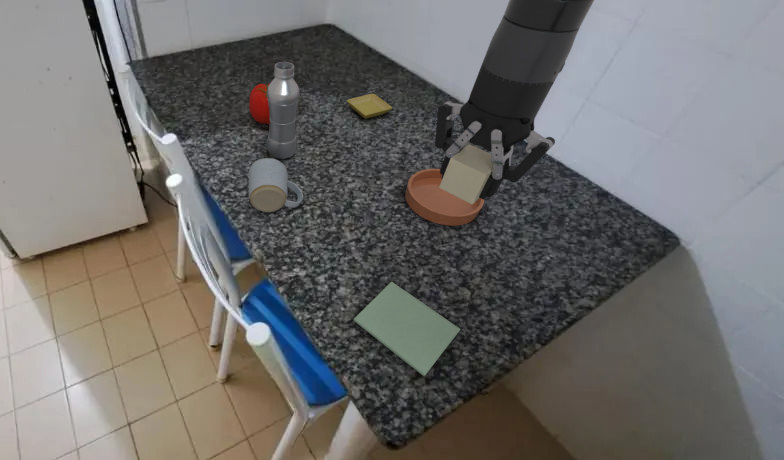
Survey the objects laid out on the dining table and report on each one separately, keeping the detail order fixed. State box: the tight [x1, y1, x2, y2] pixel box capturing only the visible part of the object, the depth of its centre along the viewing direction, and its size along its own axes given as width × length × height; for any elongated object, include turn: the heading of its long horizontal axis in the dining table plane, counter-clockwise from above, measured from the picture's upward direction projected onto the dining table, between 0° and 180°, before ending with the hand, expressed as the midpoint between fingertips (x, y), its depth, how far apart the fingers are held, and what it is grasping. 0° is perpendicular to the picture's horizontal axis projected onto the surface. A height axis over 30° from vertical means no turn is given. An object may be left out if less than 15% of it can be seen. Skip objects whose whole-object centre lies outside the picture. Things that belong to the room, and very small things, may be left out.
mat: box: [353, 281, 461, 377], centre depth 58 cm, size 12×10×1 cm
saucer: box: [346, 93, 393, 120], centre depth 101 cm, size 9×9×2 cm
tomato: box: [248, 83, 270, 126], centre depth 95 cm, size 11×11×9 cm
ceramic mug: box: [248, 157, 304, 213], centre depth 74 cm, size 11×8×8 cm
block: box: [439, 143, 492, 204], centre depth 53 cm, size 5×5×5 cm
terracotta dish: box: [404, 168, 485, 227], centre depth 77 cm, size 14×14×2 cm
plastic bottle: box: [266, 61, 301, 160], centre depth 81 cm, size 6×7×20 cm
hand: (465, 186), depth 55 cm, fingers closed on block, 5 cm apart
